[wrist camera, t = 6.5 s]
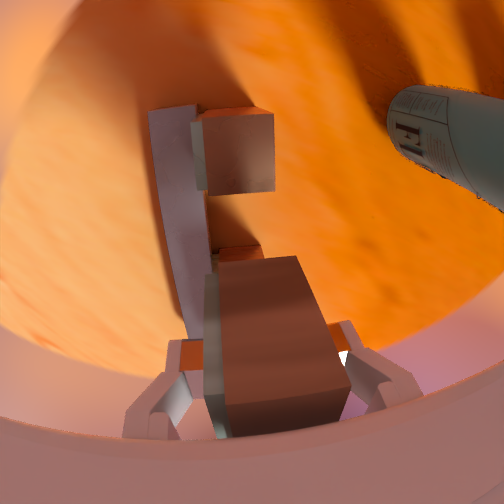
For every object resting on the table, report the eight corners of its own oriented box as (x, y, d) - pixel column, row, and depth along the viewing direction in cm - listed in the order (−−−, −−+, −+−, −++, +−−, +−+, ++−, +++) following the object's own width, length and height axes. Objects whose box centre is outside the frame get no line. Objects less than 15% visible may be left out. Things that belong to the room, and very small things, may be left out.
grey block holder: (154, 109, 19) (127, 118, 13) (255, 99, 19) (273, 103, 13) (191, 327, 29) (188, 385, 23) (262, 321, 29) (274, 378, 23)
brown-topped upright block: (204, 264, 13) (202, 406, 7) (295, 255, 13) (352, 385, 7) (215, 330, 15) (221, 458, 9) (292, 322, 15) (329, 443, 9)
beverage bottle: (359, 111, 20) (621, 232, 3) (412, 66, 18) (651, 125, 1) (400, 172, 23) (592, 327, 6) (447, 128, 21) (641, 233, 4)
